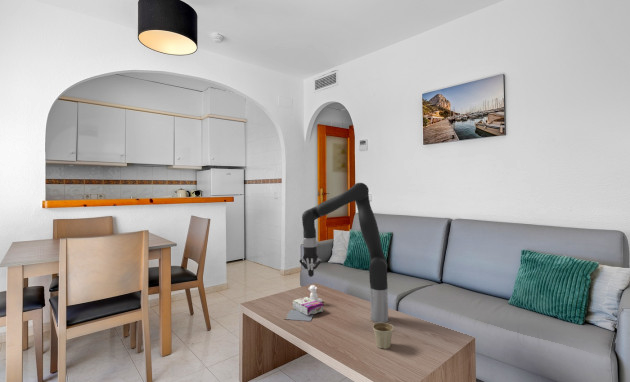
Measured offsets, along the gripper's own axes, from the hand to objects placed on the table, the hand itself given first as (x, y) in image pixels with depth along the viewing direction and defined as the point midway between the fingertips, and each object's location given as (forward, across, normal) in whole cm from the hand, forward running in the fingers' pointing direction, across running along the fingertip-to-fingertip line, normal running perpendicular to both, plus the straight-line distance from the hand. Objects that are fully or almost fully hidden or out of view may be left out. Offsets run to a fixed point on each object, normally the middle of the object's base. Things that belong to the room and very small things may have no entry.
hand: (311, 276), depth 176 cm
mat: (+22, +7, 0) cm, 24 cm away
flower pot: (+23, -39, +26) cm, 52 cm away
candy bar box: (+20, -2, -2) cm, 20 cm away
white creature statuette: (+23, +3, -18) cm, 30 cm away
